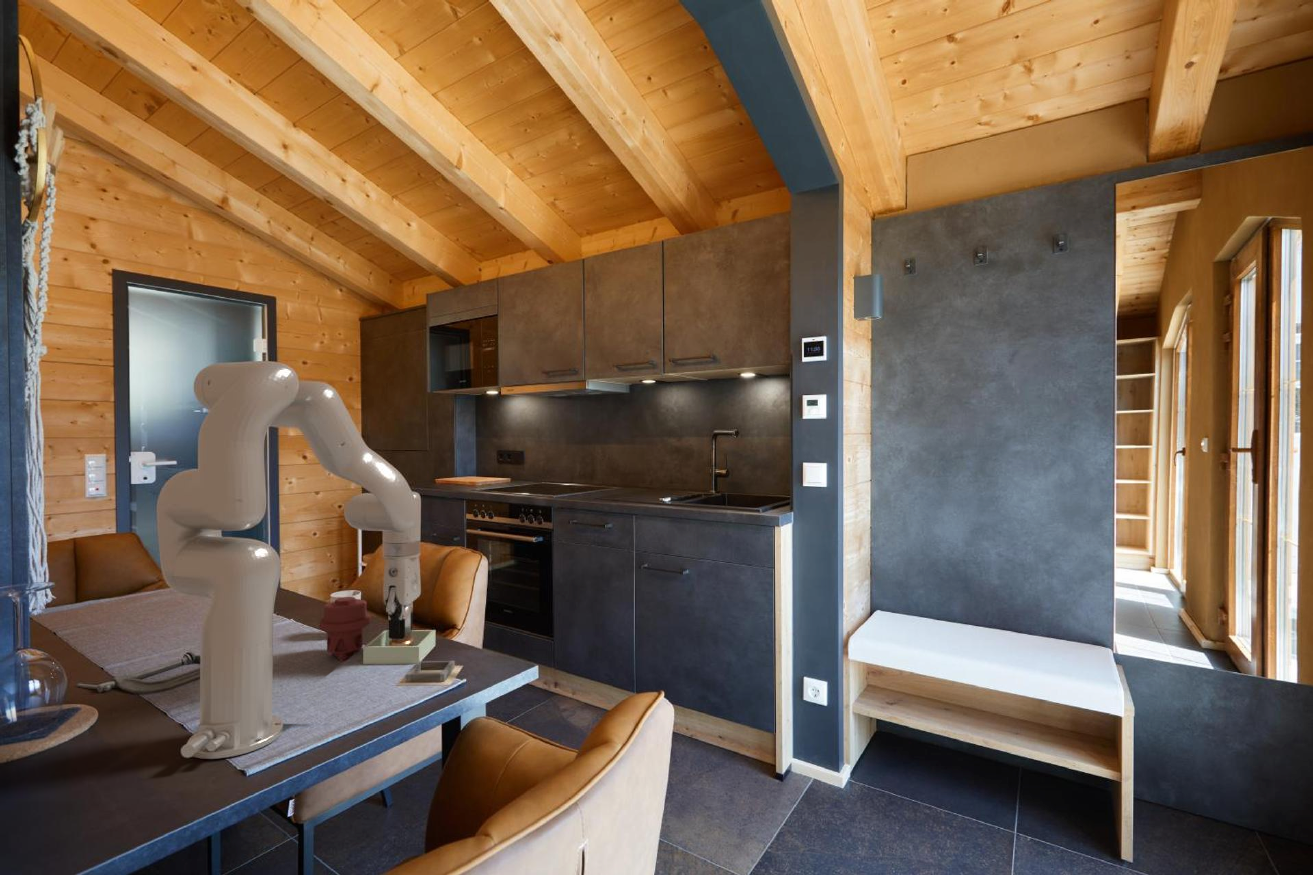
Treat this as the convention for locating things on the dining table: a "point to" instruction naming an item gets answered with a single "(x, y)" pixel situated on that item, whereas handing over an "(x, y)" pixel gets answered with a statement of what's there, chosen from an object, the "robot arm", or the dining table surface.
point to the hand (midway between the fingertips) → (400, 633)
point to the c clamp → (147, 687)
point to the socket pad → (430, 673)
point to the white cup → (346, 594)
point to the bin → (399, 649)
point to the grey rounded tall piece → (407, 639)
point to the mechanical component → (345, 626)
